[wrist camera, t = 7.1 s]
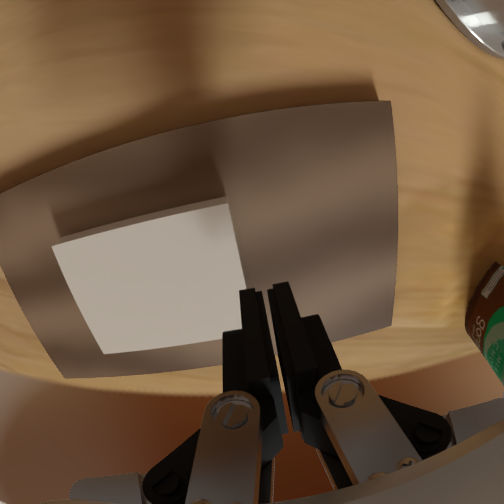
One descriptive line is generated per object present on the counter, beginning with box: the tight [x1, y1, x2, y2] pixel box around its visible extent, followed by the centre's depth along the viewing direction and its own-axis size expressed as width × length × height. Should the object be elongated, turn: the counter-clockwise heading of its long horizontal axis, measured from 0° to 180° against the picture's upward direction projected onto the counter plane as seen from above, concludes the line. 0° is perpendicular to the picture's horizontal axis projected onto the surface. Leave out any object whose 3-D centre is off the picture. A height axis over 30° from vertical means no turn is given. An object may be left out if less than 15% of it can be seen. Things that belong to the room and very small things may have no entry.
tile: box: [52, 196, 247, 354], centre depth 15 cm, size 7×2×9 cm
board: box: [0, 101, 398, 378], centre depth 16 cm, size 14×24×1 cm, turn 100°
